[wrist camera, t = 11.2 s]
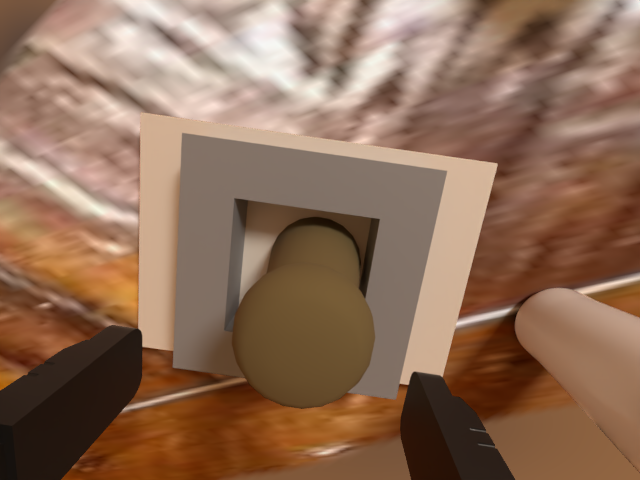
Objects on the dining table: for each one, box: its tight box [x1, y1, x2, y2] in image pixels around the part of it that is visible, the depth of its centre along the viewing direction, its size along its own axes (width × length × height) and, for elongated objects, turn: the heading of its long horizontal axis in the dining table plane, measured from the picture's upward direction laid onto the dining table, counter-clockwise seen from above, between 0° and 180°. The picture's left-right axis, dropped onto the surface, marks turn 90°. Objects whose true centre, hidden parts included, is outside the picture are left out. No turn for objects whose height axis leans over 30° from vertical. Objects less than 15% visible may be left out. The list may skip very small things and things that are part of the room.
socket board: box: [138, 113, 498, 399], centre depth 20 cm, size 22×16×4 cm
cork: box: [232, 217, 375, 409], centre depth 15 cm, size 6×6×11 cm
